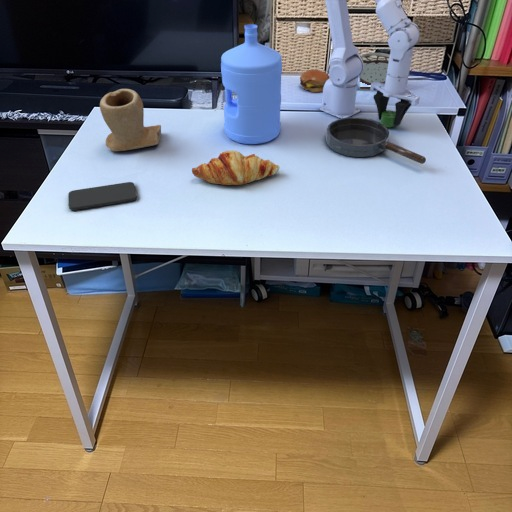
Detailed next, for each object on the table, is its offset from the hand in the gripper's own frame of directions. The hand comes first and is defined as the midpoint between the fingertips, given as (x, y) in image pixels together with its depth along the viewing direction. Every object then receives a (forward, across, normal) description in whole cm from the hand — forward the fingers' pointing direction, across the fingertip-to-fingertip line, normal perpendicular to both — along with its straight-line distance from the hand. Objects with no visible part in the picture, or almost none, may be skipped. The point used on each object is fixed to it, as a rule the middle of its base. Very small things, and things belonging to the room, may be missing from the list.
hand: (389, 121), depth 140 cm
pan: (+1, 0, -14) cm, 15 cm away
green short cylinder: (+1, 0, 0) cm, 1 cm away
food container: (+1, -20, +20) cm, 28 cm away
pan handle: (-1, +14, -14) cm, 20 cm away
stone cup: (+1, -40, -58) cm, 71 cm away
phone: (+1, -24, -78) cm, 81 cm away
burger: (+1, -33, +6) cm, 33 cm away
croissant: (+1, -9, -50) cm, 50 cm away
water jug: (+1, -24, -30) cm, 39 cm away
